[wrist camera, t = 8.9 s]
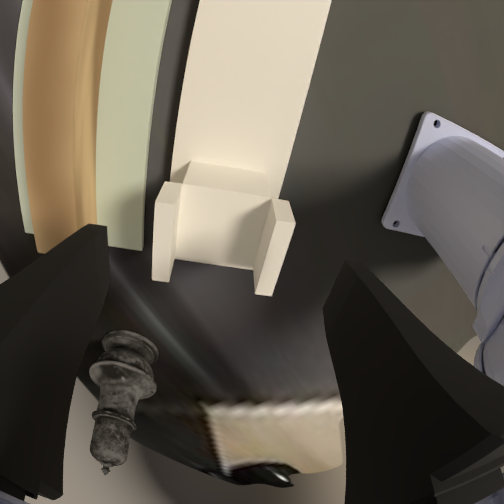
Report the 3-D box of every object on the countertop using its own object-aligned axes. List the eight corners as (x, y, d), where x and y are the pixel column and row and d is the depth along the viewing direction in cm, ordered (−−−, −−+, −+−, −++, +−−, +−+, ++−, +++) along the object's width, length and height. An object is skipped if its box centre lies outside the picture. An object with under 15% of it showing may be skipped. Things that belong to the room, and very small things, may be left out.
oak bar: (161, -141, 5) (149, -164, 3) (97, 231, 19) (80, 260, 16) (110, -135, 5) (92, -154, 2) (57, 225, 18) (37, 252, 16)
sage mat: (221, -147, 6) (221, -151, 5) (143, 246, 20) (141, 251, 20) (74, -132, 4) (71, -134, 4) (28, 228, 19) (25, 232, 18)
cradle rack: (357, -119, 7) (398, -159, 2) (257, 263, 21) (263, 330, 17) (249, -145, 6) (254, -197, 1) (165, 249, 20) (148, 315, 16)
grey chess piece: (136, 373, 29) (117, 486, 19) (88, 342, 26) (54, 461, 16) (175, 354, 27) (161, 484, 17) (122, 318, 24) (87, 458, 14)
